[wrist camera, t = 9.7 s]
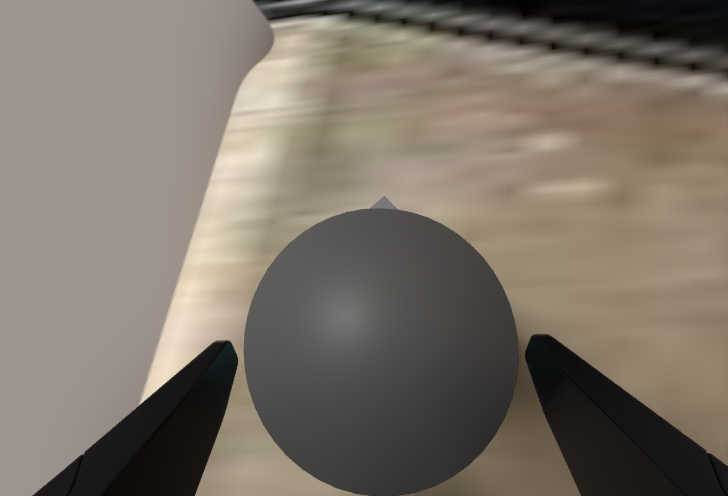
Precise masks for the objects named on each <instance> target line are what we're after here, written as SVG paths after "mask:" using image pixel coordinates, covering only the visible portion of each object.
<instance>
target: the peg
mask: <svg viewBox="0 0 728 496" xmlns="http://www.w3.org/2000/svg"><path fill="white" fill-rule="evenodd" d="M518 361H519V359H518V338H517V331H516V325H515V320H514V317H513V313H512V310H511V306H510V303H509V301H508V299H507V296H506V294H505V291H504V289H503V287H502V285H501V283H500V282H499V280H498V278H497V277H496V275H495V273H494V271H493V270H492V269H491V267H490V266H489V265H488V263H487V262H486V261H485V259H484V258H483V257H482V256H481V255H480V254H479V253H478V252H477V251H476V250H475V249H474V248H473V247H472V246H471V244H469V243H468V242H467V241H466V240H464V239H463V238H462V237H461V236H459V235H458V234H457V233H455V232H454V231H452V230H451V229H449V228H447V227H446V226H444V225H442V224H440V223H438V222H436V221H434V220H432V219H430V218H427V217H424V216H421V215H418V214H415V213H412V212H407V211H402V210H397V209H383V208H375V209H361V210H356V211H350V212H346V213H343V214H340V215H336V216H333V217H331V218H328V219H326V220H324V221H322V222H320V223H318V224H316V225H314V226H313V227H311V228H309V229H308V230H306V231H304V232H303V233H302V234H300V235H299V236H298V237H297V238H295V239H294V240H293V241H292V242H290V243H289V244H288V245H287V246H286V247H285V249H284V250H283V251H282V252H281V253H280V254H279V255H278V256H277V257H276V259H275V260H274V261H273V263H272V264H271V265H270V266H269V268H268V269H267V271H266V273H265V274H264V276H263V278H262V280H261V281H260V283H259V285H258V288H257V290H256V292H255V295H254V297H253V299H252V303H251V306H250V309H249V313H248V316H247V322H246V328H245V334H244V363H245V373H246V378H247V383H248V388H249V391H250V394H251V397H252V400H253V403H254V406H255V409H256V411H257V413H258V415H259V417H260V419H261V421H262V423H263V425H264V426H265V428H266V429H267V431H268V433H269V434H270V436H271V437H272V439H273V440H274V441H275V443H276V444H277V445H278V446H279V447H280V448H281V450H282V451H283V452H284V453H285V454H286V455H287V456H288V457H289V458H290V459H291V460H292V461H293V462H295V463H296V464H297V465H298V466H299V467H300V468H302V469H303V470H304V471H306V472H307V473H309V474H311V475H312V476H314V477H315V478H317V479H318V480H320V481H322V482H325V483H327V484H329V485H331V486H333V487H335V488H338V489H341V490H345V491H348V492H352V493H355V494H361V495H369V496H399V495H405V494H411V493H416V492H419V491H422V490H425V489H428V488H431V487H434V486H436V485H438V484H440V483H442V482H444V481H446V480H448V479H450V478H452V477H453V476H455V475H456V474H457V473H459V472H460V471H461V470H463V469H464V468H466V467H467V466H468V465H469V464H470V463H471V462H472V461H473V460H475V459H476V458H477V457H478V456H479V455H480V454H481V453H482V452H483V450H484V449H485V448H486V447H487V445H488V444H489V443H490V441H491V440H492V439H493V437H494V436H495V434H496V433H497V431H498V429H499V427H500V425H501V424H502V422H503V420H504V418H505V416H506V413H507V411H508V408H509V406H510V403H511V400H512V397H513V393H514V389H515V384H516V380H517V371H518Z"/></svg>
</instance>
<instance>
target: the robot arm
mask: <svg viewBox="0 0 728 496" xmlns="http://www.w3.org/2000/svg"><path fill="white" fill-rule="evenodd" d="M525 358H526V362H527V365H528V368H529V371H530V374H531V377H532V380H533V383H534V386H535V389H536V392H537V395H538V398H539V401H540V404H541V406H542V409H543V412H544V414H545V417H546V419H547V421H548V424H549V426H550V428H551V430H552V432H553V435H554V437H555V439H556V441H557V443H558V446H559V448H560V450H561V452H562V454H563V457H564V459H565V461H566V463H567V465H568V468H569V470H570V472H571V474H572V476H573V479H574V481H575V483H576V485H577V487H578V490H579V492H580V494H581V496H728V466H727V465H725V464H724V463H723V462H721V461H720V460H719V459H717V458H716V457H715V456H713V455H712V454H710V453H707V452H706V450H705V449H704V448H702V447H701V446H699V445H698V444H697V443H695V442H694V441H693V440H691V439H690V438H689V437H687V436H686V435H685V434H683V433H682V432H680V431H679V430H678V429H676V428H675V427H674V426H672V425H671V424H670V423H668V422H667V421H666V420H664V419H663V418H662V417H660V416H659V415H657V414H656V413H655V412H653V411H652V410H651V409H649V408H648V407H647V406H645V405H644V404H643V403H641V402H640V401H638V400H637V399H636V398H634V397H633V396H632V395H630V394H629V393H628V392H626V391H625V390H624V389H622V388H621V387H620V386H618V385H617V384H615V383H614V382H613V381H611V380H610V379H609V378H607V377H606V376H605V375H603V374H602V373H601V372H599V371H598V370H597V369H595V368H594V367H592V366H591V365H590V364H588V363H587V362H586V361H584V360H583V359H582V358H580V357H579V356H578V355H576V354H575V353H573V352H572V351H571V350H569V349H568V348H567V347H565V346H564V345H563V344H561V343H560V342H559V341H557V340H556V339H555V338H553V337H552V336H550V335H548V334H534V335H532V336H531V339H530V341H529V344H528V346H527V349H526V352H525ZM237 366H238V357H237V354H236V352H235V350H234V347H233V345H232V343H231V342H230V341H229V340H218V341H215V342H213V343H212V344H211V345H210V346H209V347H207V348H206V349H205V350H204V351H203V352H201V353H200V354H199V355H198V356H197V357H196V358H194V359H193V360H192V361H191V362H190V363H189V364H187V365H186V366H185V367H184V368H183V369H182V370H180V371H179V372H178V373H177V374H176V375H174V376H173V377H172V378H171V379H170V380H169V381H167V382H166V383H165V384H164V385H163V386H162V387H160V388H159V389H158V390H157V391H156V392H154V393H153V394H152V395H151V396H150V397H149V398H147V399H146V400H145V401H144V402H143V403H142V404H140V405H139V406H138V407H137V408H136V409H135V410H134V411H132V412H131V413H130V414H129V415H128V416H126V417H125V418H124V419H123V420H122V421H121V422H119V423H118V424H117V425H116V426H115V427H113V428H112V429H111V430H110V431H109V432H107V433H106V434H105V435H104V436H103V437H102V438H100V439H99V440H98V441H97V442H96V443H95V444H93V445H92V446H91V447H90V448H89V449H88V450H86V451H85V453H84V454H83V455H80V456H79V457H78V458H77V459H76V460H75V461H73V462H72V463H71V464H70V465H69V466H67V467H66V468H65V469H64V470H63V471H61V472H60V473H59V474H58V475H57V476H55V477H54V478H53V479H52V480H51V481H49V482H48V483H47V484H46V485H45V486H43V487H42V488H41V489H40V490H39V491H37V492H36V493H35V494H34V495H32V496H195V494H196V491H197V489H198V486H199V483H200V481H201V478H202V475H203V472H204V470H205V467H206V464H207V462H208V459H209V456H210V454H211V451H212V448H213V445H214V443H215V440H216V437H217V435H218V432H219V429H220V427H221V424H222V421H223V418H224V415H225V411H226V408H227V404H228V400H229V397H230V393H231V389H232V385H233V381H234V377H235V374H236V370H237Z"/></svg>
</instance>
